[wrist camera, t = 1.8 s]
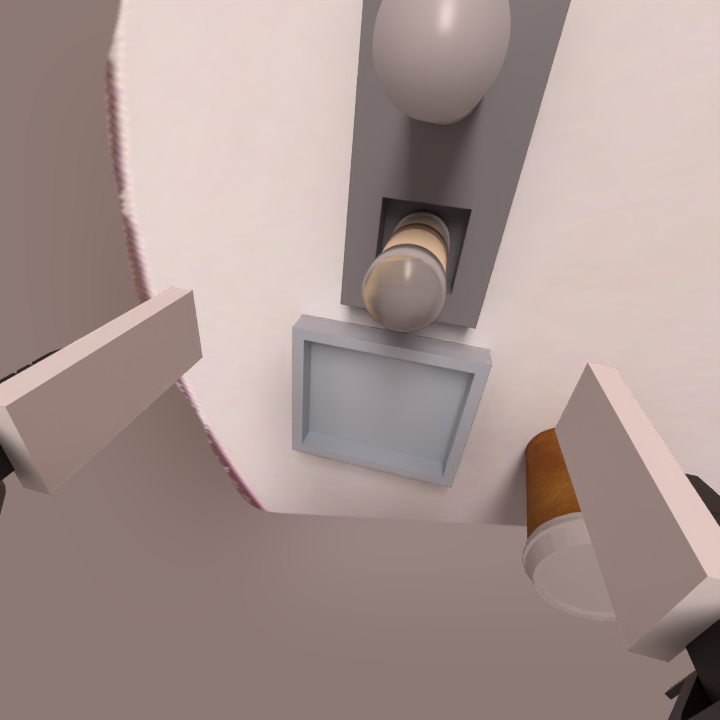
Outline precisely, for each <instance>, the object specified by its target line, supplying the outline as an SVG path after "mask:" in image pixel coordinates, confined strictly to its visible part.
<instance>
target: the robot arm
mask: <svg viewBox="0 0 720 720" xmlns="http://www.w3.org/2000/svg"><path fill="white" fill-rule="evenodd" d="M201 358H202V351H201V344H200V337H199V330H198V324H197V317H196V310H195V304H194V297H193V290H188V289H183V288H177V287H171V288H169V289H167V290H166V291H164V292H162V293H160V294H159V295H157V296H155V297H153V298H152V299H150V300H148V301H146V302H144V303H143V304H141V305H139V306H137V307H136V308H134V309H132V310H130V311H129V312H127V313H125V314H123V315H121V316H120V317H118V318H116V319H114V320H113V321H111V322H109V323H107V324H105V325H104V326H102V327H100V328H98V329H97V330H95V331H93V332H92V333H89V334H88V335H86V336H84V337H82V338H81V339H79V340H77V341H75V342H74V343H72V344H70V345H68V346H67V347H64V348H62V349H58V350H56V351H53V352H50V353H48V354H46V355H44V356H43V357H41V358H39V359H37V360H36V361H34V362H32V364H31V365H27V366H25V367H23V368H21V369H19V370H17V373H12V374H10V375H8V376H7V377H5V378H3V379H1V380H0V513H1V509H2V505H3V501H4V497H5V493H6V488H5V484H4V483H3V481H2V480H3V479H4V478H5V477H6V476H8V475H9V474H10V473H11V472H13V471H15V473H16V475H17V477H18V479H19V480H20V482H21V484H22V486H23V487H24V488H27V489H31V490H35V491H38V492H42V493H46V494H49V495H51V494H52V493H54V491H56V490H57V489H58V488H59V487H60V486H61V485H62V484H63V483H65V482H66V481H67V480H68V479H69V478H70V477H71V476H72V475H73V474H74V473H76V472H77V471H78V470H79V469H80V468H81V467H82V466H83V465H84V464H85V463H87V462H88V461H89V460H90V459H91V458H92V457H93V456H94V455H95V454H96V453H98V452H99V451H100V450H101V449H102V448H103V447H104V446H105V445H106V444H107V443H109V441H111V440H112V439H113V438H114V437H115V436H116V435H117V434H118V433H119V432H121V431H122V430H123V429H124V428H125V427H126V426H127V425H128V424H129V423H130V422H132V421H133V420H134V419H135V418H136V417H137V416H138V415H139V414H140V413H142V412H143V411H144V410H145V409H146V408H147V407H148V406H149V405H150V404H151V403H153V402H154V401H155V400H156V399H157V398H158V397H159V396H160V395H161V394H162V393H163V392H165V391H166V390H167V389H168V388H169V387H170V386H171V385H172V384H173V383H175V382H176V381H177V380H178V379H179V378H180V377H181V376H182V375H183V374H184V373H186V372H187V371H188V370H189V369H190V368H191V367H192V366H193V365H194V364H195V363H197V362H198V361H199V360H200V359H201ZM555 432H556V435H557V439H558V442H559V445H560V448H561V451H562V454H563V457H564V460H565V463H566V466H567V469H568V472H569V475H570V478H571V481H572V484H573V487H574V490H575V494H576V497H577V500H578V503H579V506H580V509H581V512H582V515H583V518H584V521H585V524H586V527H587V530H588V533H589V536H590V539H591V542H592V546H593V549H594V552H595V555H596V558H597V561H598V564H599V567H600V570H601V573H602V576H603V579H604V582H605V585H606V588H607V591H608V594H609V597H610V601H611V604H612V607H613V610H614V613H615V616H616V619H617V622H618V625H619V628H620V631H621V634H622V637H623V640H624V643H625V646H626V649H627V651H629V652H633V653H637V654H640V655H644V656H648V657H651V658H655V659H659V660H662V661H666V662H669V661H670V660H672V659H673V658H674V657H676V656H677V655H678V654H679V653H681V652H682V651H683V650H684V649H685V648H686V649H687V651H688V653H689V656H690V658H691V660H692V662H693V665H694V667H695V669H696V670H695V671H693V672H692V673H691V674H689V675H688V676H687V677H685V678H684V679H682V680H681V681H679V682H678V683H677V684H675V685H674V686H673V687H671V688H670V689H669V690H668V691H667V692H666V693H665V694H666V695H667V696H668V697H669V698H670V699H673V698H674V697H676V696H677V695H679V696H678V698H677V701H676V703H675V705H674V707H673V710H672V712H671V714H670V717H669V719H668V720H720V496H719V495H718V494H717V493H716V492H715V491H714V490H713V489H711V488H710V487H709V486H708V485H707V484H706V483H705V482H704V481H702V480H701V479H700V478H699V477H698V476H694V475H689V474H685V473H684V472H683V471H682V469H681V468H680V466H679V465H678V463H677V461H676V460H675V458H674V457H673V455H672V454H671V452H670V451H669V449H668V448H667V446H666V445H665V443H664V442H663V440H662V439H661V437H660V436H659V434H658V433H657V431H656V430H655V428H654V427H653V425H652V424H651V422H650V421H649V419H648V418H647V416H646V415H645V413H644V412H643V410H642V408H641V407H640V405H639V404H638V402H637V401H636V399H635V398H634V396H633V395H632V393H631V392H630V390H629V389H628V387H627V386H626V384H625V383H624V381H623V380H622V378H621V377H620V375H619V374H618V372H617V371H616V369H615V368H614V367H609V366H603V365H598V364H592V363H587V365H586V367H585V369H584V371H583V373H582V375H581V378H580V380H579V382H578V384H577V386H576V388H575V390H574V392H573V394H572V396H571V398H570V400H569V402H568V404H567V406H566V408H565V410H564V412H563V414H562V416H561V418H560V420H559V422H558V424H557V426H556V428H555Z"/></svg>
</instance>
